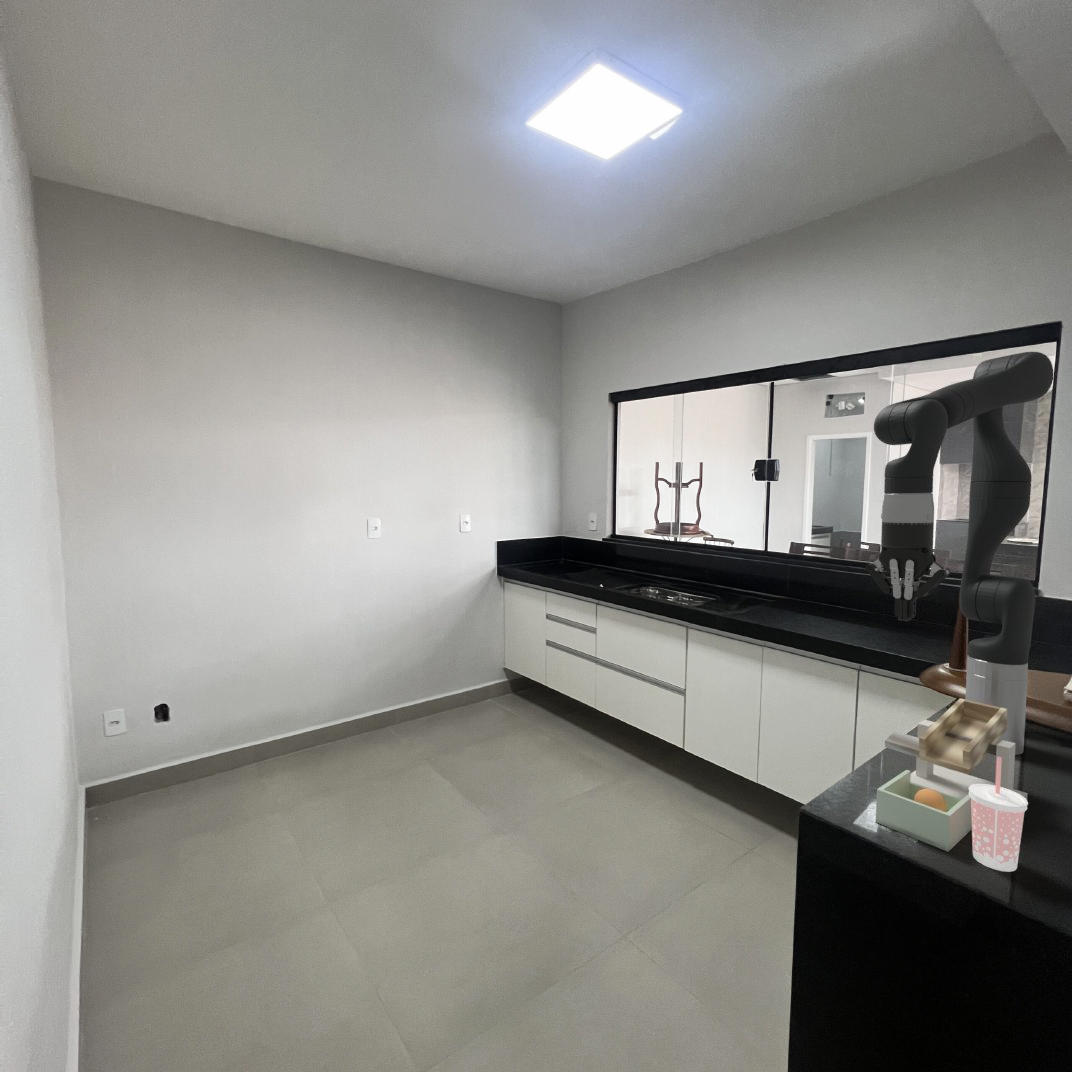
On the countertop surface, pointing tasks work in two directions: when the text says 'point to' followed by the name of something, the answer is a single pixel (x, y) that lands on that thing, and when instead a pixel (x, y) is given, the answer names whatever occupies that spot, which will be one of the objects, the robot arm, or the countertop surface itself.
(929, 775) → the pivot stand
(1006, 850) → the beverage cup
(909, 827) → the cup
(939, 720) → the tipping chute
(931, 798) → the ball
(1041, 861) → the countertop surface
